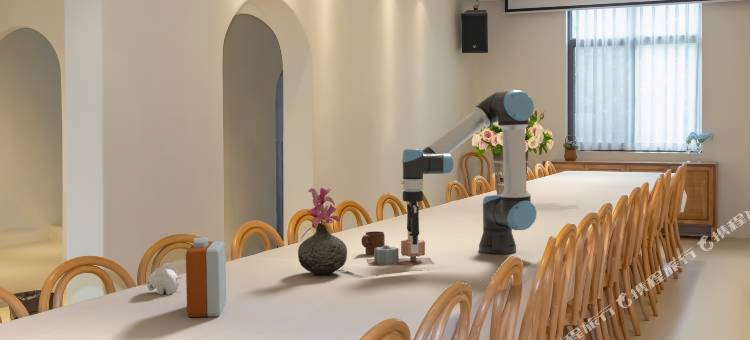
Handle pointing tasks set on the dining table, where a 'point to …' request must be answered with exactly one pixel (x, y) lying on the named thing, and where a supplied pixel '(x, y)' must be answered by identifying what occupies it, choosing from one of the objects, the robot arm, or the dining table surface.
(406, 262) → the gear board
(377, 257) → the gear
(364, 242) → the mug
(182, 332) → the dining table surface
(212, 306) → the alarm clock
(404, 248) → the gear
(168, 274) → the elephant figurine
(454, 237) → the dining table surface
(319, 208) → the vase
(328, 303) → the dining table surface
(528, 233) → the dining table surface
